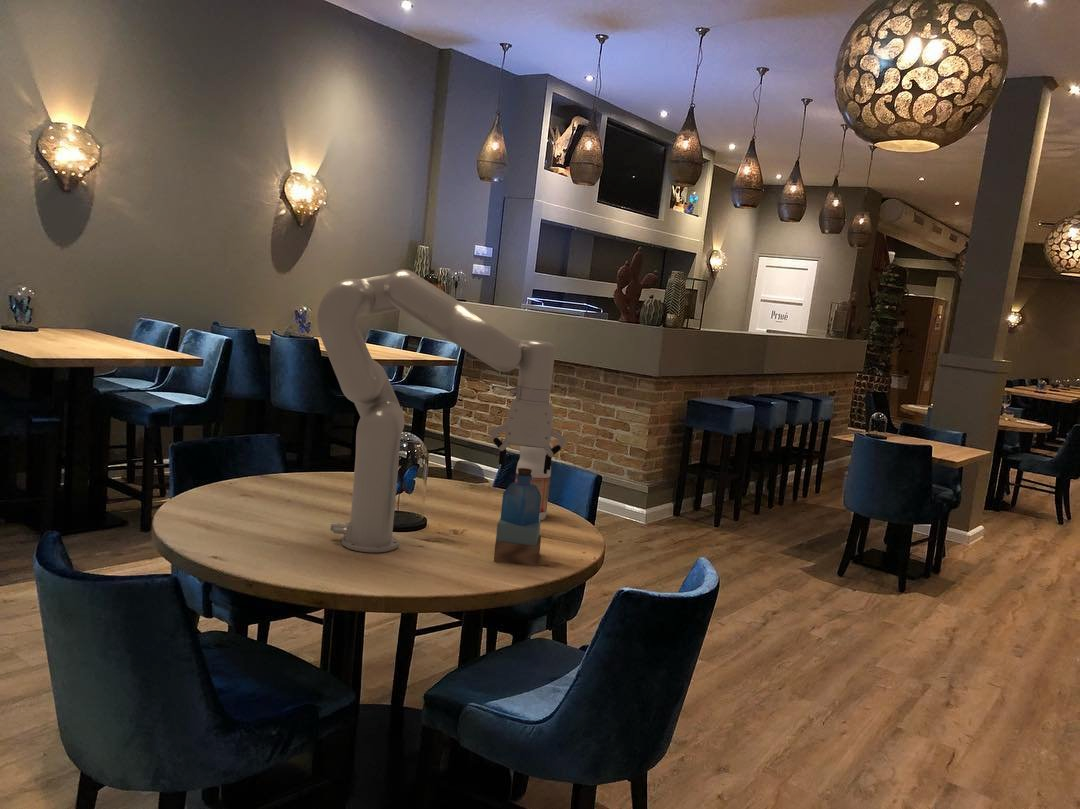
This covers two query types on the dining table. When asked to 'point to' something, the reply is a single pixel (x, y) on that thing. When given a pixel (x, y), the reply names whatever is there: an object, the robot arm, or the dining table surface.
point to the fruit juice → (536, 472)
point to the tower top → (518, 533)
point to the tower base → (517, 553)
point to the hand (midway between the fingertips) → (523, 470)
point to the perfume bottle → (521, 500)
